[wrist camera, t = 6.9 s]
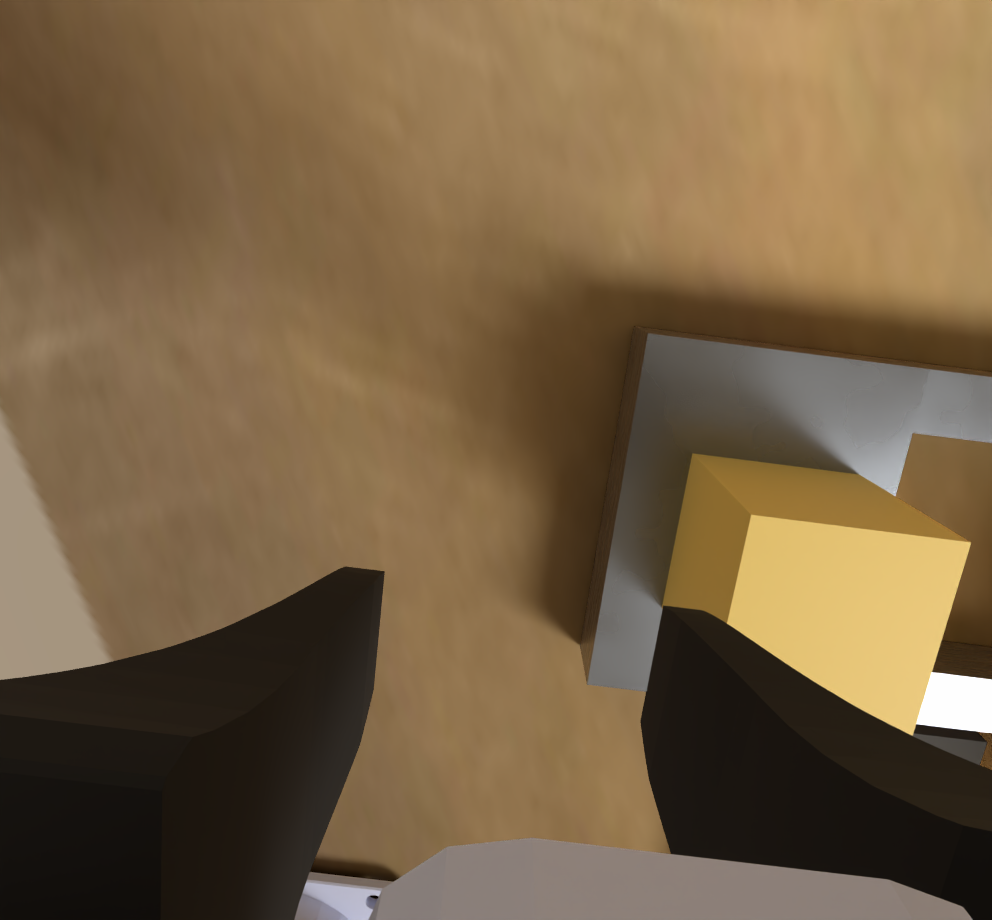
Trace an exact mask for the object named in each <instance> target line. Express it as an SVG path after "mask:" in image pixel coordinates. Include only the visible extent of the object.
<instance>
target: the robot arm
mask: <svg viewBox="0 0 992 920" xmlns="http://www.w3.org/2000/svg"><path fill="white" fill-rule="evenodd" d="M384 572H385V571H377V570H369V569H361V568H352V567H343V568H340V569H338V570H336V571H334V572H332V573H331V574H329V575H327V576H325V577H323V578H322V579H320V580H318V581H316V582H315V583H313V584H311V585H309V586H308V587H306V588H304V589H302V590H300V591H298V592H297V593H295V594H293V595H291V596H289V597H287V598H286V599H284V600H282V601H280V602H278V603H276V604H274V605H272V606H270V607H268V608H266V609H264V610H261V611H259V612H257V613H255V614H253V615H251V616H249V617H247V618H244V619H242V620H240V621H238V622H236V623H234V624H232V625H229V626H227V627H224V628H222V629H220V630H217V631H214V632H212V633H209V634H207V635H204V636H201V637H198V638H195V639H192V640H189V641H186V642H183V643H180V644H177V645H174V646H171V647H168V648H164V649H161V650H157V651H153V652H149V653H145V654H141V655H137V656H133V657H129V658H125V659H121V660H117V661H113V662H109V663H105V664H101V665H96V666H91V667H85V668H79V669H75V670H69V671H63V672H57V673H50V674H43V675H36V676H29V677H23V678H14V679H5V680H0V920H992V770H990V769H987V768H985V767H983V766H980V765H978V764H975V763H973V762H971V761H968V760H966V759H963V758H961V757H958V756H956V755H954V754H951V753H949V752H946V751H944V750H942V749H940V748H938V747H935V746H933V745H931V744H929V743H927V742H924V741H922V740H920V739H918V738H916V737H914V736H912V735H910V734H908V733H906V732H904V731H902V730H900V729H898V728H896V727H894V726H892V725H890V724H888V723H886V722H884V721H882V720H880V719H878V718H876V717H874V716H872V715H870V714H869V713H867V712H865V711H863V710H861V709H859V708H858V707H856V706H854V705H852V704H850V703H849V702H847V701H845V700H844V699H842V698H840V697H839V696H837V695H835V694H834V693H832V692H830V691H829V690H827V689H825V688H824V687H822V686H820V685H819V684H817V683H816V682H814V681H812V680H811V679H809V678H808V677H806V676H805V675H803V674H801V673H800V672H798V671H797V670H795V669H794V668H792V667H791V666H789V665H788V664H786V663H785V662H783V661H782V660H780V659H779V658H777V657H776V656H774V655H773V654H771V653H770V652H768V651H767V650H765V649H764V648H762V647H761V646H760V645H758V644H757V643H755V642H754V641H752V640H751V639H749V638H748V637H746V636H745V635H743V634H742V633H741V632H739V631H738V630H736V629H735V628H733V627H732V626H730V625H728V624H727V623H725V622H724V621H722V620H721V619H719V618H717V617H716V616H714V615H712V614H710V613H708V612H706V611H703V610H697V609H689V608H681V607H672V606H664V605H663V609H662V615H661V620H660V625H659V630H658V635H657V640H656V645H655V650H654V655H653V660H652V665H651V671H650V676H649V681H648V686H647V691H646V696H645V701H644V706H643V711H642V716H641V729H642V737H643V744H644V751H645V758H646V764H647V770H648V776H649V781H650V784H651V788H652V791H653V795H654V798H655V802H656V805H657V808H658V812H659V815H660V819H661V822H662V825H663V829H664V832H665V835H666V839H667V842H668V845H669V848H670V852H671V854H665V853H657V852H648V851H640V850H631V849H623V848H614V847H606V846H597V845H588V844H580V843H571V842H563V841H554V840H546V839H537V838H526V839H516V840H507V841H497V842H488V843H478V844H469V845H459V846H450V847H446V848H445V849H443V850H442V851H440V852H438V853H437V854H435V855H434V856H432V857H431V858H429V859H428V860H426V861H425V862H423V863H422V864H420V865H418V866H417V867H415V868H414V869H412V870H411V871H409V872H408V873H406V874H405V875H403V876H402V877H400V878H398V879H397V880H395V881H394V882H392V881H383V880H375V879H366V878H357V877H349V876H340V875H331V874H323V873H314V872H310V870H311V867H312V865H313V862H314V860H315V857H316V855H317V852H318V850H319V847H320V845H321V842H322V839H323V837H324V834H325V832H326V829H327V827H328V824H329V822H330V819H331V817H332V814H333V812H334V809H335V807H336V804H337V802H338V799H339V797H340V794H341V792H342V789H343V787H344V784H345V782H346V779H347V776H348V774H349V771H350V769H351V766H352V764H353V761H354V759H355V756H356V753H357V751H358V748H359V745H360V742H361V738H362V734H363V730H364V726H365V723H366V719H367V714H368V710H369V706H370V702H371V698H372V694H373V690H374V679H375V668H376V658H377V647H378V636H379V626H380V615H381V604H382V593H383V583H384ZM371 895H376V896H379V897H378V899H374V898H371V897H370V896H371Z"/></svg>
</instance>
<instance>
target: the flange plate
mask: <svg viewBox="0 0 992 920" xmlns="http://www.w3.org/2000/svg"><path fill="white" fill-rule="evenodd" d="M913 433H917V434H925V435H933V436H941V437H949V438H957V439H964V440H972V441H980V442H988V443H992V372H989V371H981V370H974V369H966V368H958V367H950V366H942V365H934V364H927V363H919V362H911V361H903V360H895V359H887V358H880V357H872V356H864V355H856V354H848V353H840V352H832V351H825V350H817V349H809V348H801V347H793V346H785V345H778V344H770V343H762V342H754V341H746V340H738V339H730V338H723V337H715V336H707V335H699V334H691V333H683V332H676V331H668V330H660V329H652V328H644V327H636V326H634V329H633V335H632V341H631V347H630V353H629V359H628V365H627V371H626V377H625V383H624V389H623V395H622V401H621V406H620V412H619V418H618V424H617V430H616V436H615V442H614V448H613V454H612V460H611V466H610V472H609V478H608V484H607V490H606V496H605V501H604V507H603V513H602V519H601V525H600V531H599V537H598V543H597V549H596V555H595V561H594V567H593V573H592V579H591V585H590V590H589V596H588V602H587V608H586V614H585V620H584V626H583V632H582V638H581V644H580V649H581V654H582V659H583V665H584V670H585V676H586V681H587V685H596V686H604V687H612V688H621V689H629V690H637V691H647V686H648V681H649V676H650V671H651V665H652V660H653V655H654V650H655V645H656V640H657V635H658V630H659V625H660V620H661V615H662V604H663V599H664V594H665V589H666V584H667V579H668V574H669V569H670V564H671V559H672V554H673V549H674V544H675V539H676V533H677V528H678V523H679V518H680V513H681V508H682V503H683V498H684V493H685V488H686V483H687V478H688V473H689V468H690V463H691V458H692V453H694V454H701V455H709V456H717V457H725V458H733V459H741V460H749V461H757V462H764V463H772V464H780V465H788V466H796V467H804V468H812V469H820V470H827V471H835V472H843V473H851V474H859V475H861V476H863V477H864V478H866V479H867V480H869V481H871V482H872V483H874V484H876V485H877V486H879V487H881V488H882V489H884V490H886V491H887V492H889V493H891V494H892V495H894V496H896V493H897V489H898V485H899V482H900V478H901V474H902V470H903V467H904V463H905V459H906V456H907V452H908V448H909V445H910V441H911V437H912V434H913ZM916 724H920V725H929V726H937V727H945V728H954V729H962V730H970V731H979V732H987V733H992V647H988V646H980V645H972V644H963V643H955V642H947V641H941V644H940V647H939V651H938V654H937V657H936V660H935V664H934V667H933V670H932V674H931V677H930V680H929V683H928V687H927V690H926V693H925V697H924V700H923V703H922V707H921V710H920V713H919V716H918V720H917V723H916Z"/></svg>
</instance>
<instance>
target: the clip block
mask: <svg viewBox="0 0 992 920" xmlns="http://www.w3.org/2000/svg"><path fill="white" fill-rule="evenodd" d="M970 545H971V542H970V541H968V540H966V539H965V538H963V537H962V536H960V535H958V534H957V533H955V532H953V531H952V530H950V529H948V528H947V527H945V526H943V525H942V524H940V523H938V522H937V521H935V520H933V519H932V518H930V517H929V516H927V515H925V514H924V513H922V512H920V511H919V510H917V509H915V508H914V507H912V506H910V505H909V504H907V503H905V502H904V501H902V500H900V499H899V498H897V497H896V496H894V495H892V494H891V493H889V492H887V491H886V490H884V489H882V488H881V487H879V486H877V485H876V484H874V483H872V482H871V481H869V480H867V479H866V478H864V477H863V476H861V475H859V474H851V473H843V472H835V471H827V470H820V469H812V468H804V467H796V466H788V465H780V464H772V463H764V462H757V461H749V460H741V459H733V458H725V457H717V456H709V455H701V454H694V453H692V458H691V463H690V468H689V473H688V478H687V483H686V488H685V493H684V498H683V503H682V508H681V513H680V518H679V523H678V528H677V533H676V539H675V544H674V549H673V554H672V559H671V564H670V569H669V574H668V579H667V584H666V589H665V594H664V599H663V604H662V609H663V605H664V606H672V607H681V608H689V609H697V610H703V611H706V612H708V613H710V614H712V615H714V616H716V617H717V618H719V619H721V620H722V621H724V622H725V623H727V624H728V625H730V626H732V627H733V628H735V629H736V630H738V631H739V632H741V633H742V634H743V635H745V636H746V637H748V638H749V639H751V640H752V641H754V642H755V643H757V644H758V645H760V646H761V647H762V648H764V649H765V650H767V651H768V652H770V653H771V654H773V655H774V656H776V657H777V658H779V659H780V660H782V661H783V662H785V663H786V664H788V665H789V666H791V667H792V668H794V669H795V670H797V671H798V672H800V673H801V674H803V675H805V676H806V677H808V678H809V679H811V680H812V681H814V682H816V683H817V684H819V685H820V686H822V687H824V688H825V689H827V690H829V691H830V692H832V693H834V694H835V695H837V696H839V697H840V698H842V699H844V700H845V701H847V702H849V703H850V704H852V705H854V706H856V707H858V708H859V709H861V710H863V711H865V712H867V713H869V714H870V715H872V716H874V717H876V718H878V719H880V720H882V721H884V722H886V723H888V724H890V725H892V726H894V727H896V728H898V729H900V730H902V731H904V732H906V733H908V734H910V735H912V736H913V733H914V730H915V726H916V723H917V720H918V716H919V713H920V710H921V707H922V703H923V700H924V697H925V693H926V690H927V687H928V683H929V680H930V677H931V674H932V670H933V667H934V664H935V660H936V657H937V654H938V651H939V647H940V644H941V641H942V637H943V634H944V631H945V628H946V624H947V621H948V618H949V614H950V611H951V608H952V605H953V601H954V598H955V595H956V591H957V588H958V585H959V581H960V578H961V575H962V572H963V568H964V565H965V562H966V558H967V555H968V552H969V549H970Z"/></svg>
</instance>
